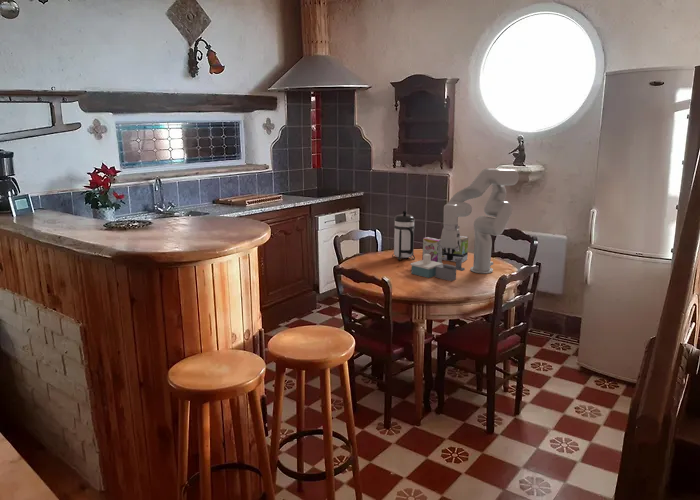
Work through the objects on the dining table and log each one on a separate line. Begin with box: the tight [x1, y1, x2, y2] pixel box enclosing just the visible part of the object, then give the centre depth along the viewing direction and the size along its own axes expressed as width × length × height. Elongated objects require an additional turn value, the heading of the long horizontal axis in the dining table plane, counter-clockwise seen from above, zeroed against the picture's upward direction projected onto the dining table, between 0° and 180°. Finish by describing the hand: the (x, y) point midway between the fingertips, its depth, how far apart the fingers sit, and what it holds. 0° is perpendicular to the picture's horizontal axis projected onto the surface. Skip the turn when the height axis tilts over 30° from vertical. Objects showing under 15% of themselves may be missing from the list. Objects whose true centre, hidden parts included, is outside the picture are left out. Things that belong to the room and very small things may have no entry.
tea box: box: [439, 235, 469, 263], centre depth 337 cm, size 15×10×15 cm, turn 58°
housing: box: [410, 264, 457, 282], centre depth 304 cm, size 12×24×6 cm, turn 46°
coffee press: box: [391, 210, 416, 262], centre depth 338 cm, size 17×16×30 cm
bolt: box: [443, 257, 466, 272], centre depth 294 cm, size 5×12×6 cm, turn 46°
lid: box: [410, 254, 444, 269], centre depth 307 cm, size 13×13×6 cm
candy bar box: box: [421, 236, 443, 263], centre depth 323 cm, size 11×5×16 cm, turn 47°
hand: (449, 260), depth 297 cm, fingers closed
